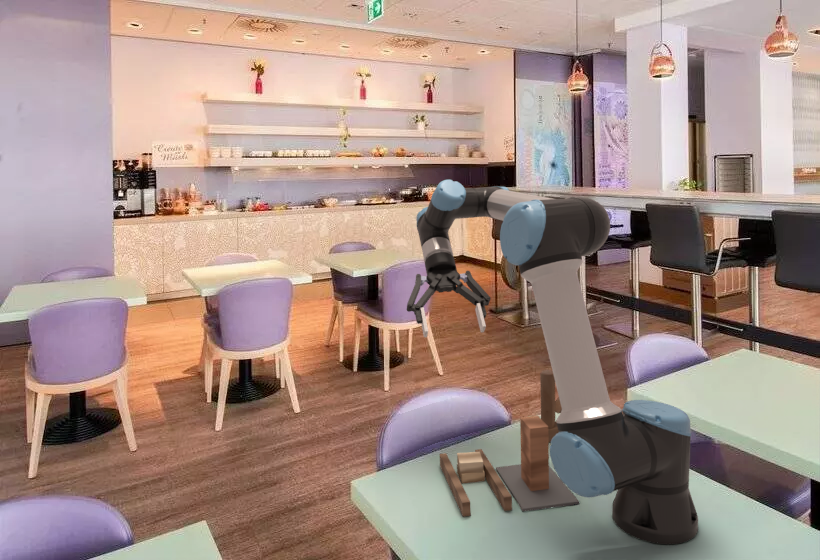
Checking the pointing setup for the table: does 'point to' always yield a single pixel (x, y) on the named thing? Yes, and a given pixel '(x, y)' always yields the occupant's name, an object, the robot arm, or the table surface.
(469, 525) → the table surface
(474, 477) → the offcut lower
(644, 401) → the robot arm
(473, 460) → the offcut upper
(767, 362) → the table surface
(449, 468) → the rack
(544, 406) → the brown wooden forked piece
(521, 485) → the mat
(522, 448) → the tall board
